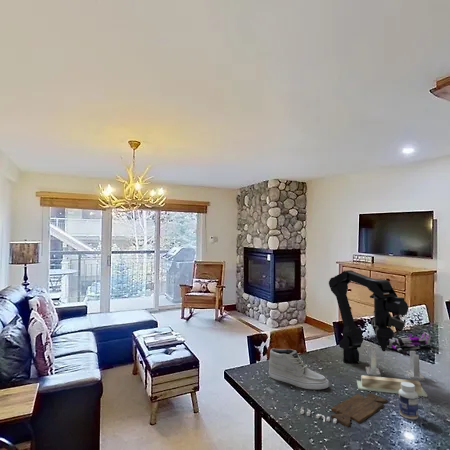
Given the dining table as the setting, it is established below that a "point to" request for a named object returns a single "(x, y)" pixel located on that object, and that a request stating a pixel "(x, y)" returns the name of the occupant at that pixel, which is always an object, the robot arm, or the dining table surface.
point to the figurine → (407, 342)
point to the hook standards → (412, 374)
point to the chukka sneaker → (294, 370)
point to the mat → (387, 390)
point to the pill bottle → (408, 401)
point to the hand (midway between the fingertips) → (382, 347)
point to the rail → (387, 383)
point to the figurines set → (318, 416)
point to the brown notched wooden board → (357, 408)
